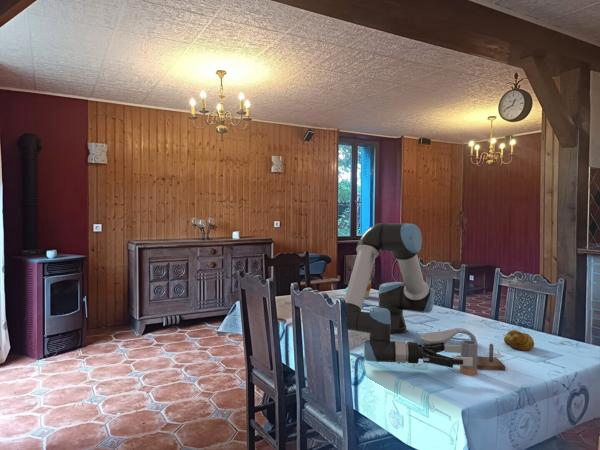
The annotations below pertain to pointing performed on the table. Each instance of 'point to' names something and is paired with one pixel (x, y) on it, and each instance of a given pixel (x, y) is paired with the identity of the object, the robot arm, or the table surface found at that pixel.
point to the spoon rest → (444, 336)
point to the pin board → (489, 361)
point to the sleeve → (469, 351)
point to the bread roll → (519, 340)
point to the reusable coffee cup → (368, 288)
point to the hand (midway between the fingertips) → (467, 355)
